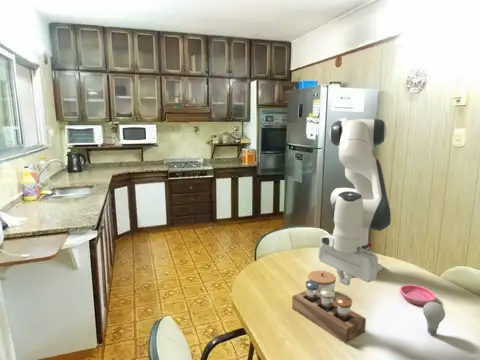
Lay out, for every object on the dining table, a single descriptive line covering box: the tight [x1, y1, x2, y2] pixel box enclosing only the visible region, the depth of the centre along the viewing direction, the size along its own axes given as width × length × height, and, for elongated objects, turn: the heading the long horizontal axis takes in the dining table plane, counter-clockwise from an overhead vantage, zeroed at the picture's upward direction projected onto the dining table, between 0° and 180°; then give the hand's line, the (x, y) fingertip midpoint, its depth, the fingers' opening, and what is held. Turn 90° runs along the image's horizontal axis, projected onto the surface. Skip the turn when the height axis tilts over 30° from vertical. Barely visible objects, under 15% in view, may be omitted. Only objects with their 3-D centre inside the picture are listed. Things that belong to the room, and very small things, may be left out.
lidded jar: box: [308, 270, 337, 293], centre depth 129 cm, size 11×11×9 cm
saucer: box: [399, 284, 437, 307], centre depth 125 cm, size 12×12×3 cm
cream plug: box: [320, 288, 335, 311], centre depth 111 cm, size 5×5×6 cm
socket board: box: [291, 289, 367, 345], centre depth 112 cm, size 10×24×5 cm, turn 34°
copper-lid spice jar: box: [335, 296, 353, 321], centre depth 106 cm, size 5×5×6 cm
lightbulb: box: [422, 301, 446, 336], centre depth 103 cm, size 6×6×11 cm
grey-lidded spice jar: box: [305, 279, 319, 302], centre depth 117 cm, size 5×5×6 cm
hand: (344, 283), depth 104 cm, fingers closed
